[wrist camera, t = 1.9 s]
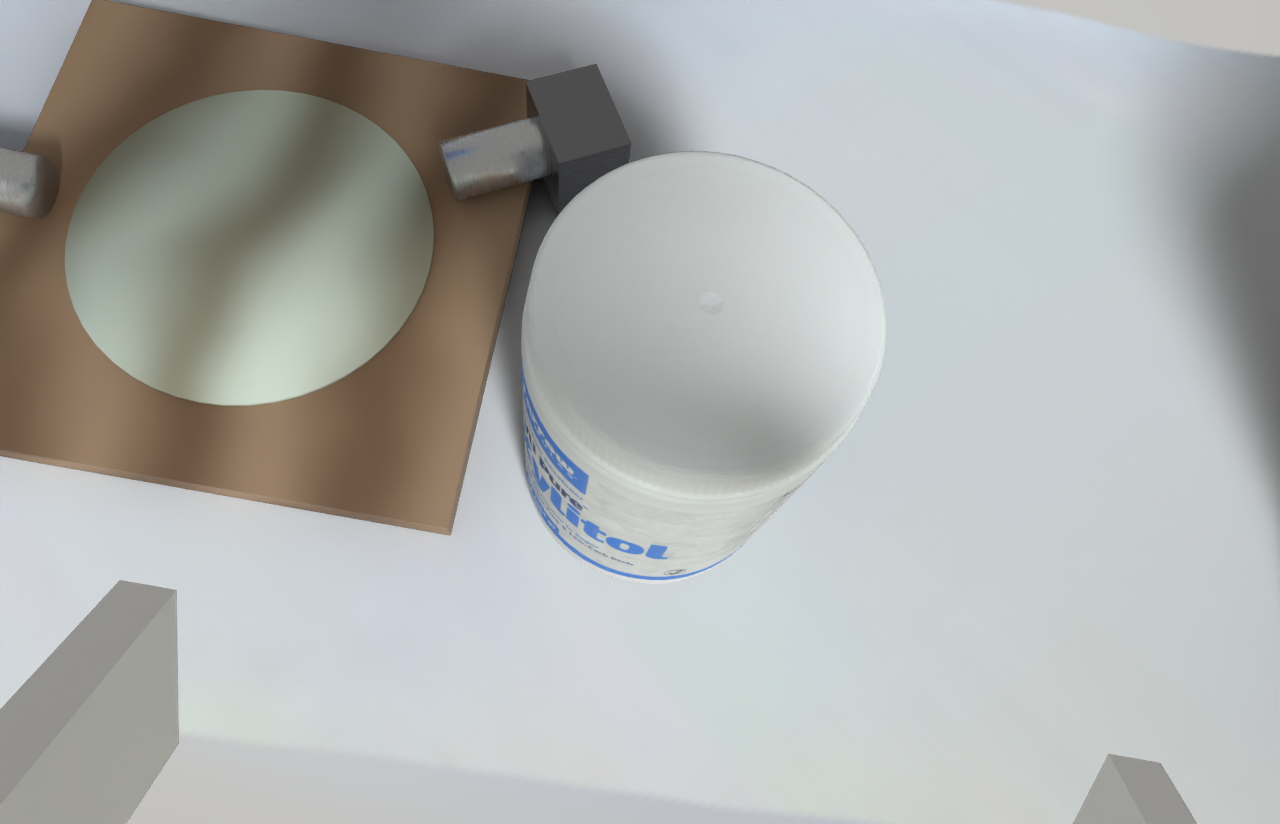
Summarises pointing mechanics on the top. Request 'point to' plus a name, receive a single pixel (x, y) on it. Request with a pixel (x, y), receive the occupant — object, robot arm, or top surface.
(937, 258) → the top surface
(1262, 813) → the top surface
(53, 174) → the shaft
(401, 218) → the board
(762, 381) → the supplement tub
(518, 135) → the shaft
